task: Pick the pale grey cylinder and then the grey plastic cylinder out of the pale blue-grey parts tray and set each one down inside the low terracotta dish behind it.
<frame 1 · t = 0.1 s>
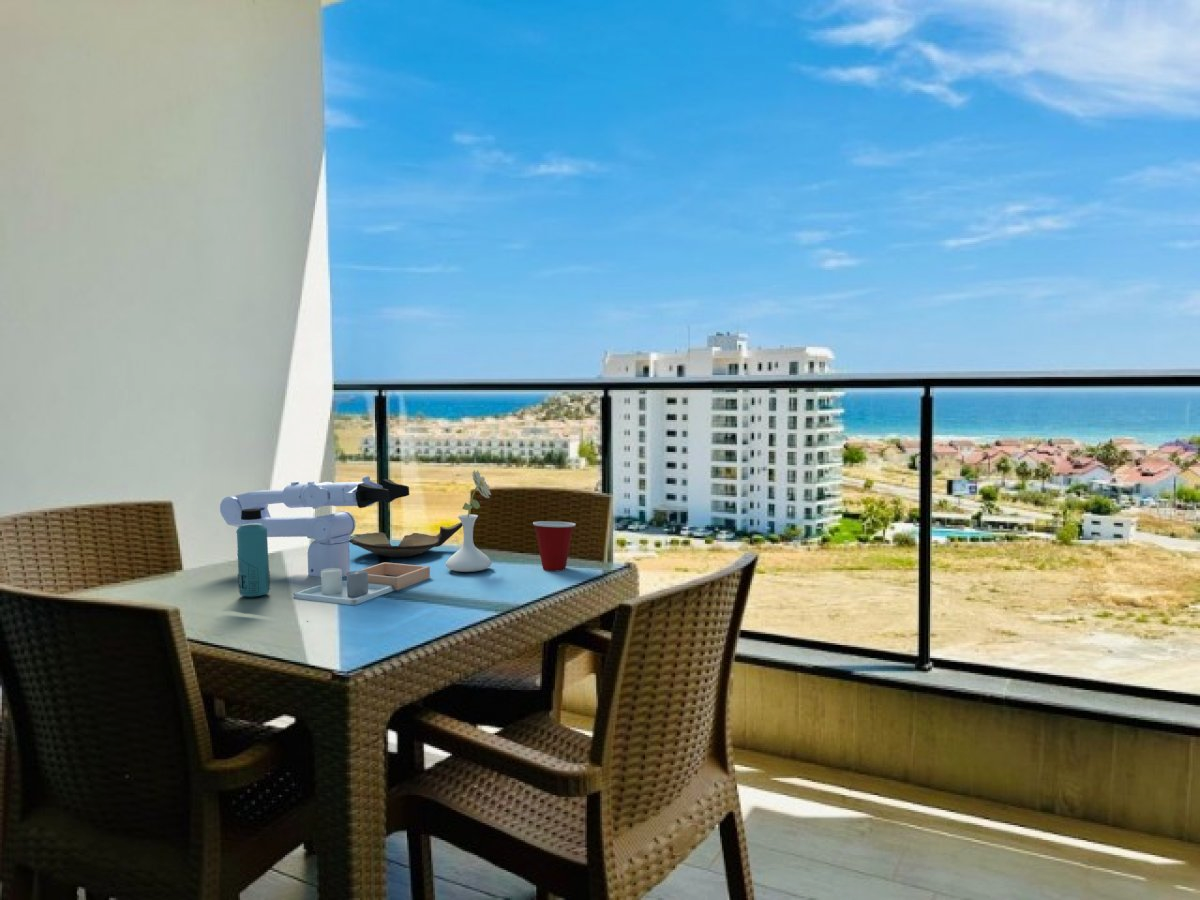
hand: (398, 492, 206), 22 cm above the table, tool horizontal, fingers open, 7 cm apart
grey plastic cylinder: (357, 595, 194), point 1 cm above the table, touching parts tray
terracotta dish: (390, 584, 207), on the table
flower in vase: (470, 570, 223), on the table
pale grey cylinder: (331, 592, 196), point 1 cm above the table, touching parts tray
plastic cup: (554, 569, 224), on the table
beverage bottle: (254, 600, 193), on the table
dark brown curved bowl: (407, 556, 242), on the table
parts tray: (344, 597, 195), on the table
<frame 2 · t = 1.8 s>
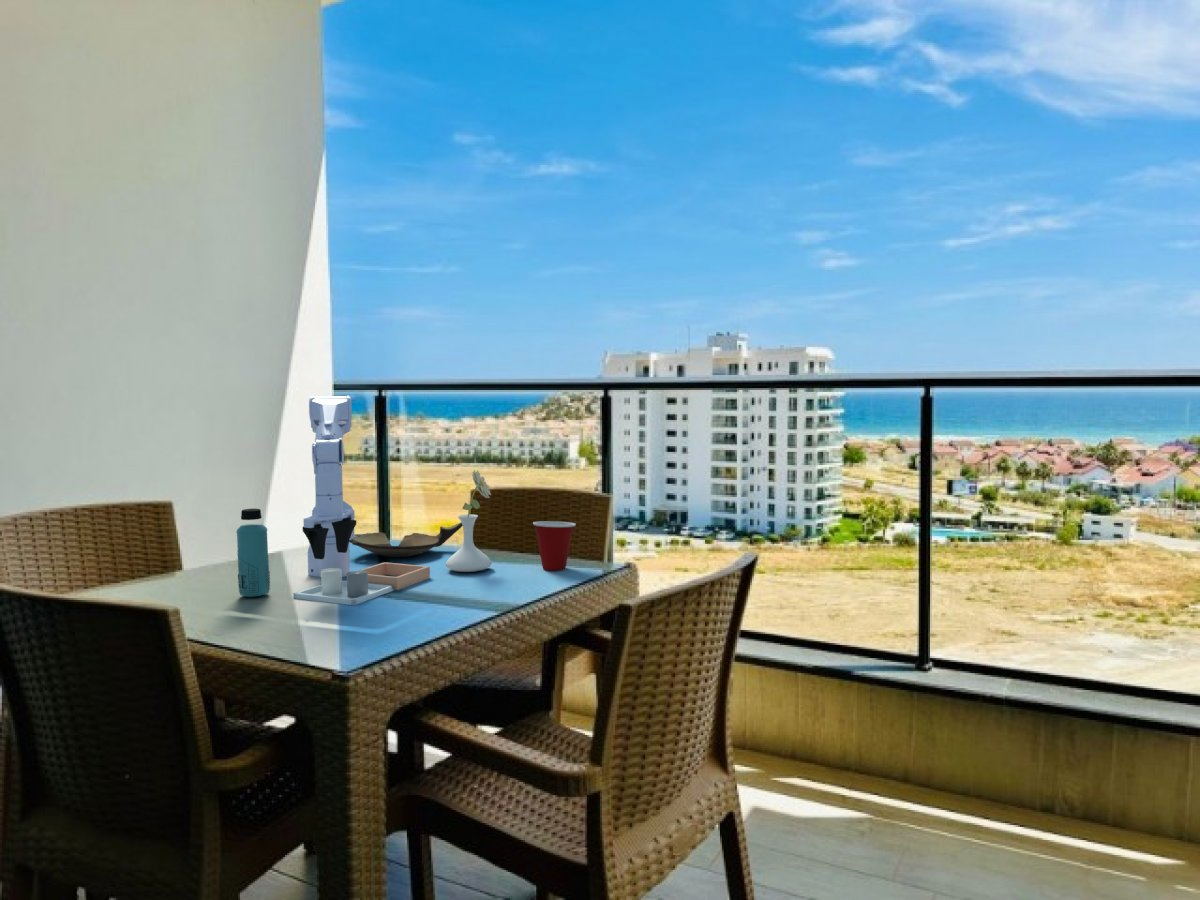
hand: (330, 555, 196), 9 cm above the table, tool pointing down, fingers open, 7 cm apart
nothing on the table moved.
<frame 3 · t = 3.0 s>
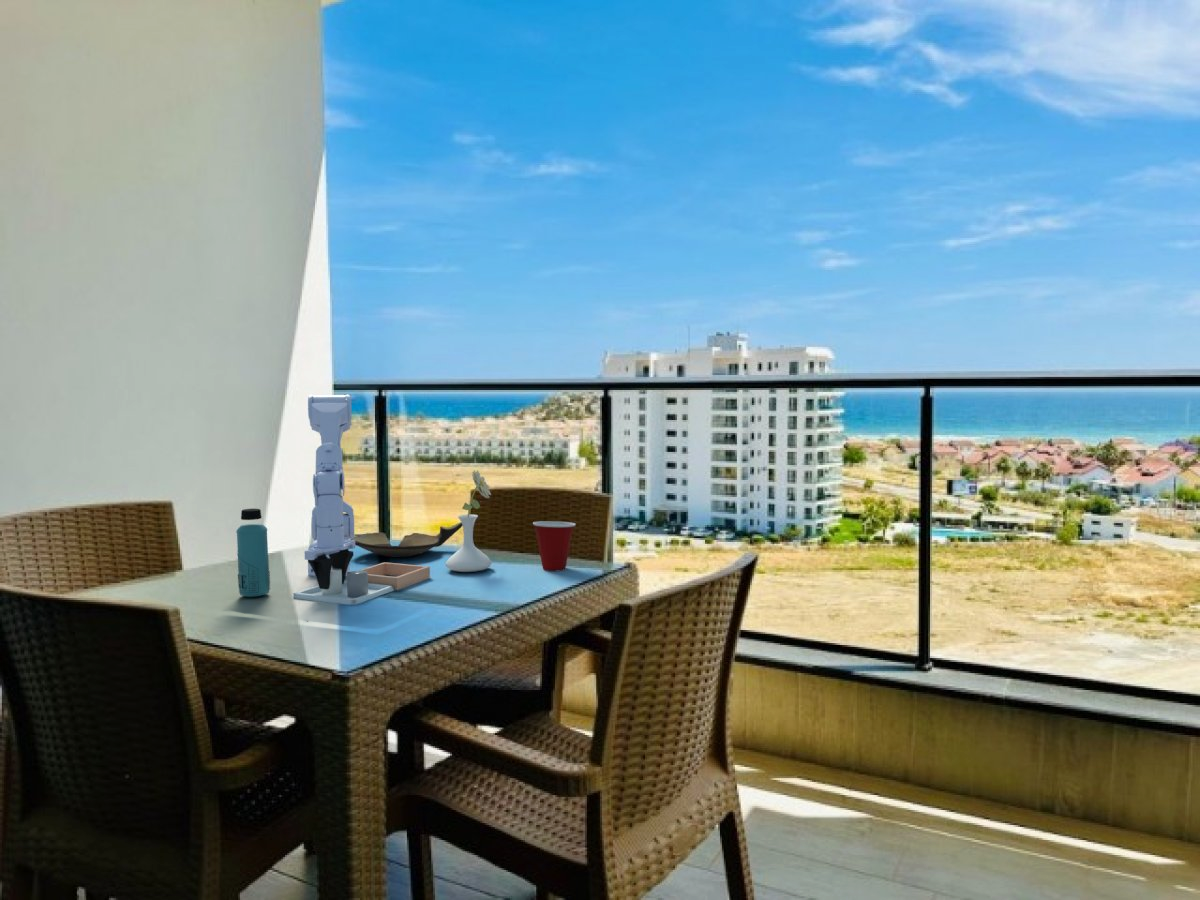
hand: (331, 586, 196), 2 cm above the table, tool pointing down, fingers closed on pale grey cylinder, 4 cm apart
pale grey cylinder: (331, 592, 196), point 1 cm above the table, touching gripper, parts tray
everything else where it was.
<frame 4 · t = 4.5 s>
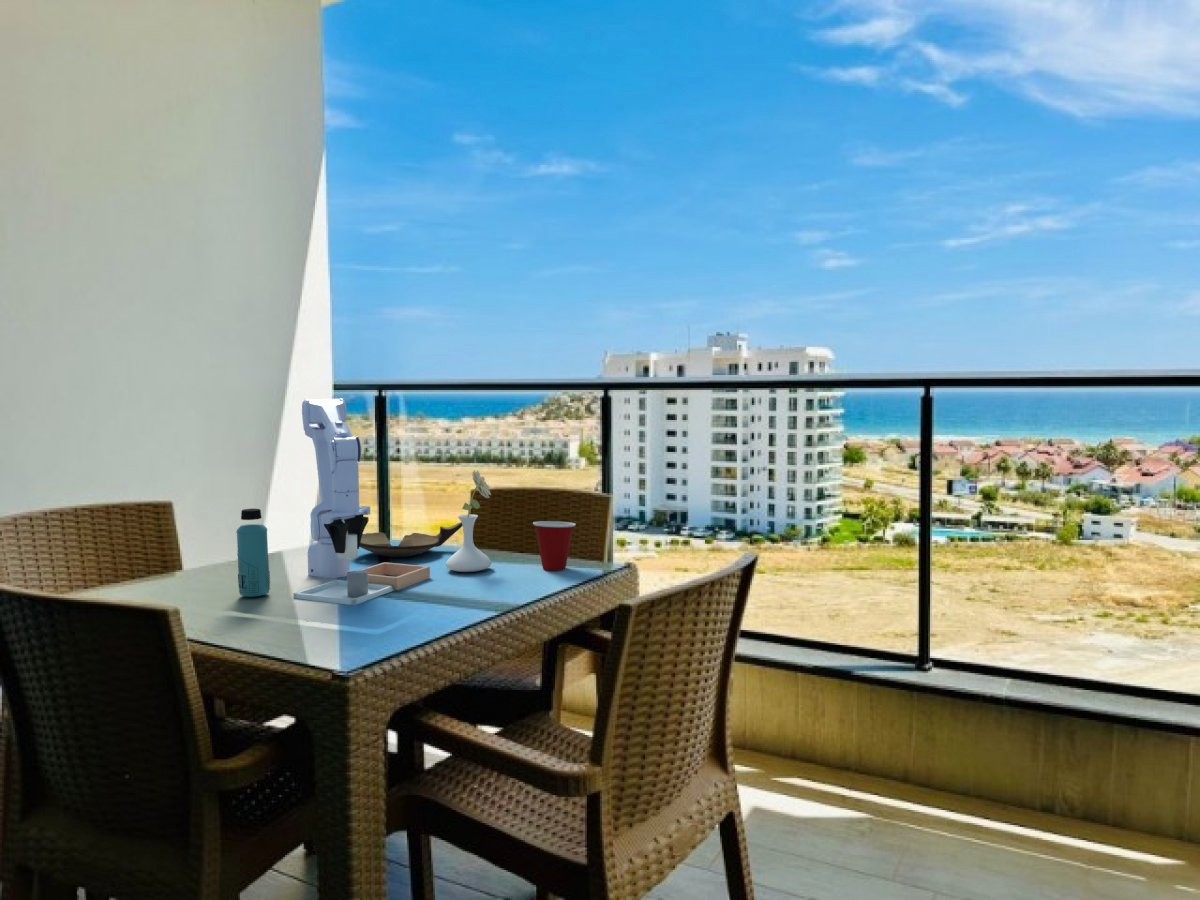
hand: (347, 550, 200), 9 cm above the table, tool pointing down, fingers closed on pale grey cylinder, 4 cm apart
pale grey cylinder: (347, 557, 200), point 8 cm above the table, touching gripper
everything else where it was.
when the fingers open (4 cm above the table, at t = 6.4 s): pale grey cylinder drops 2 cm, resting on terracotta dish.
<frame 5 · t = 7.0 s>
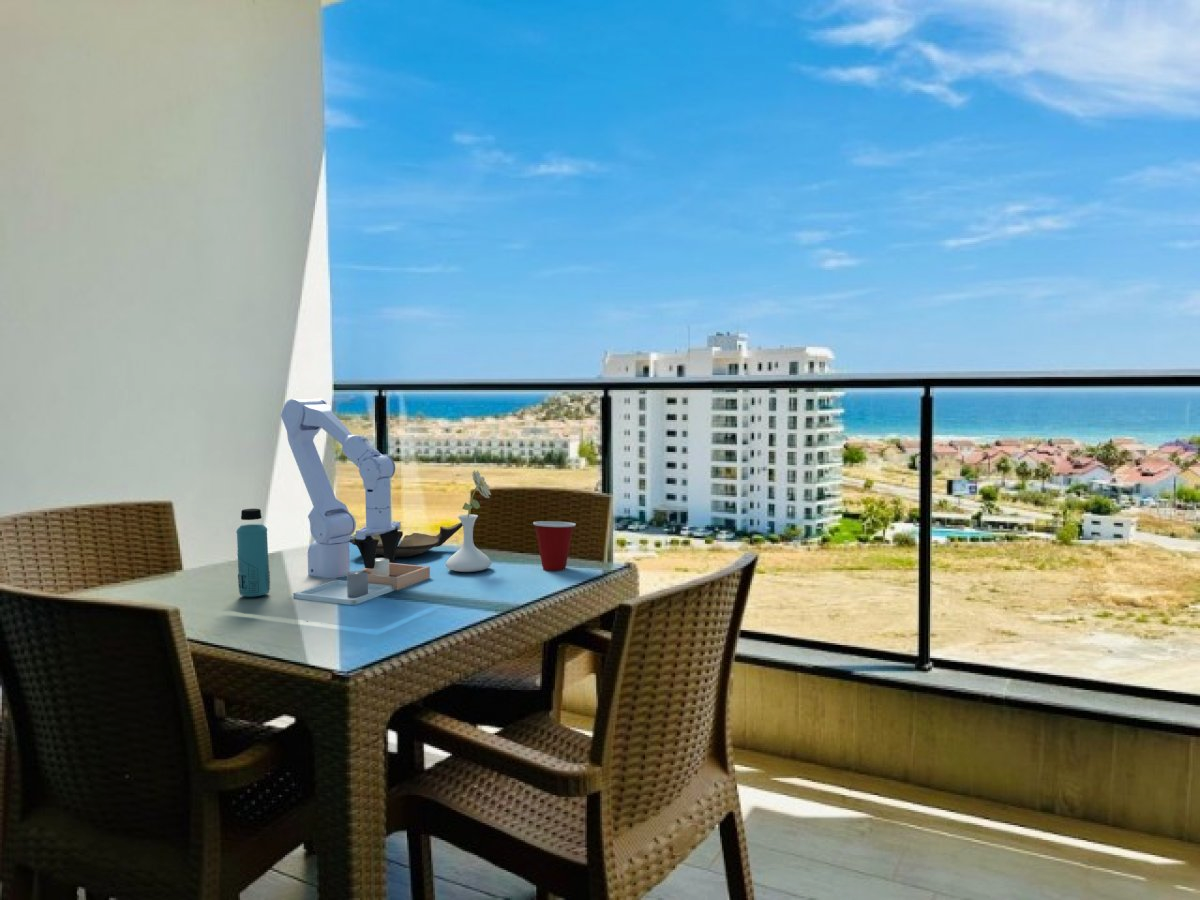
hand: (379, 564, 208), 4 cm above the table, tool pointing down, fingers open, 7 cm apart
pale grey cylinder: (380, 581, 208), point 1 cm above the table, touching terracotta dish
everything else where it was.
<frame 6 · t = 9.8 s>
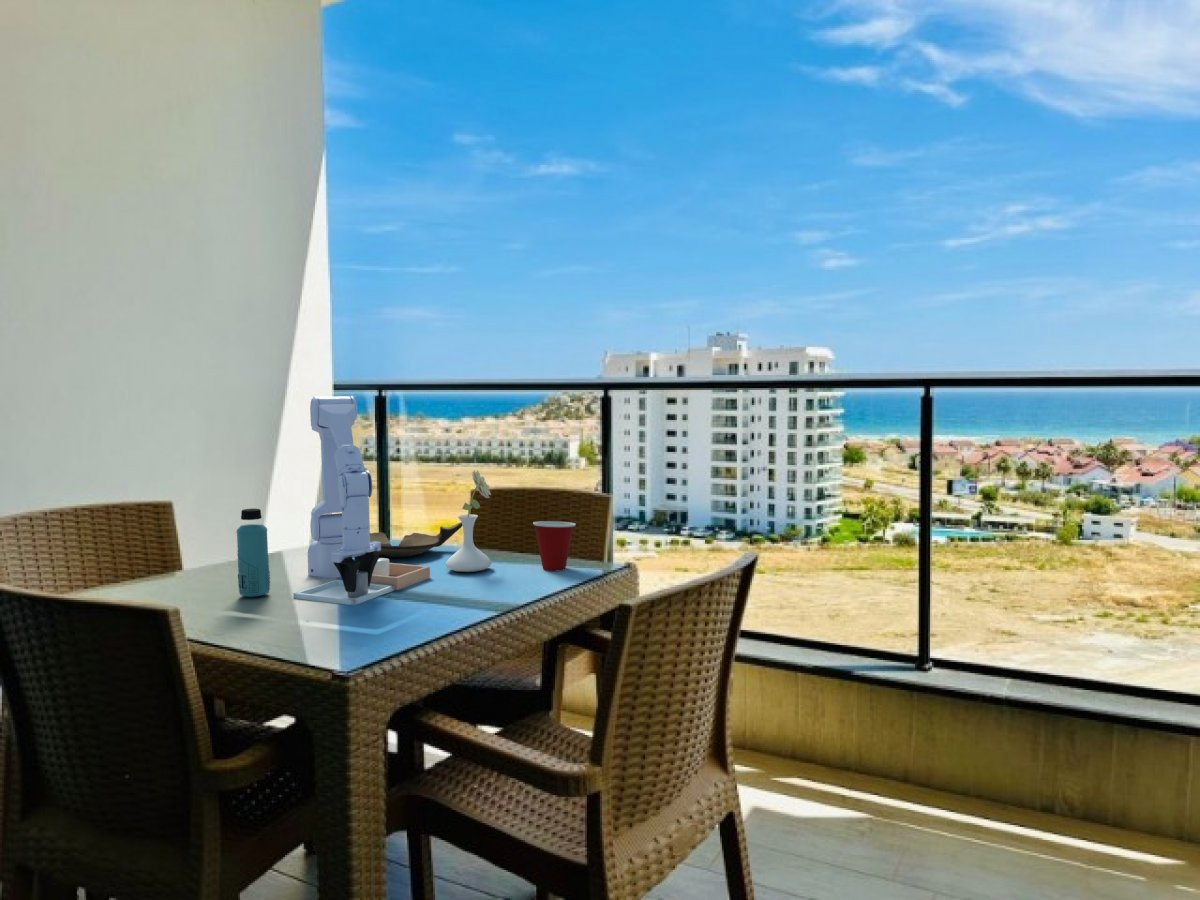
hand: (357, 589, 194), 2 cm above the table, tool pointing down, fingers closed on grey plastic cylinder, 4 cm apart
grey plastic cylinder: (357, 595, 194), point 1 cm above the table, touching gripper, parts tray
everything else where it was.
when the fingers open (4 cm above the table, at t = 13.2 s): grey plastic cylinder drops 2 cm, resting on terracotta dish.
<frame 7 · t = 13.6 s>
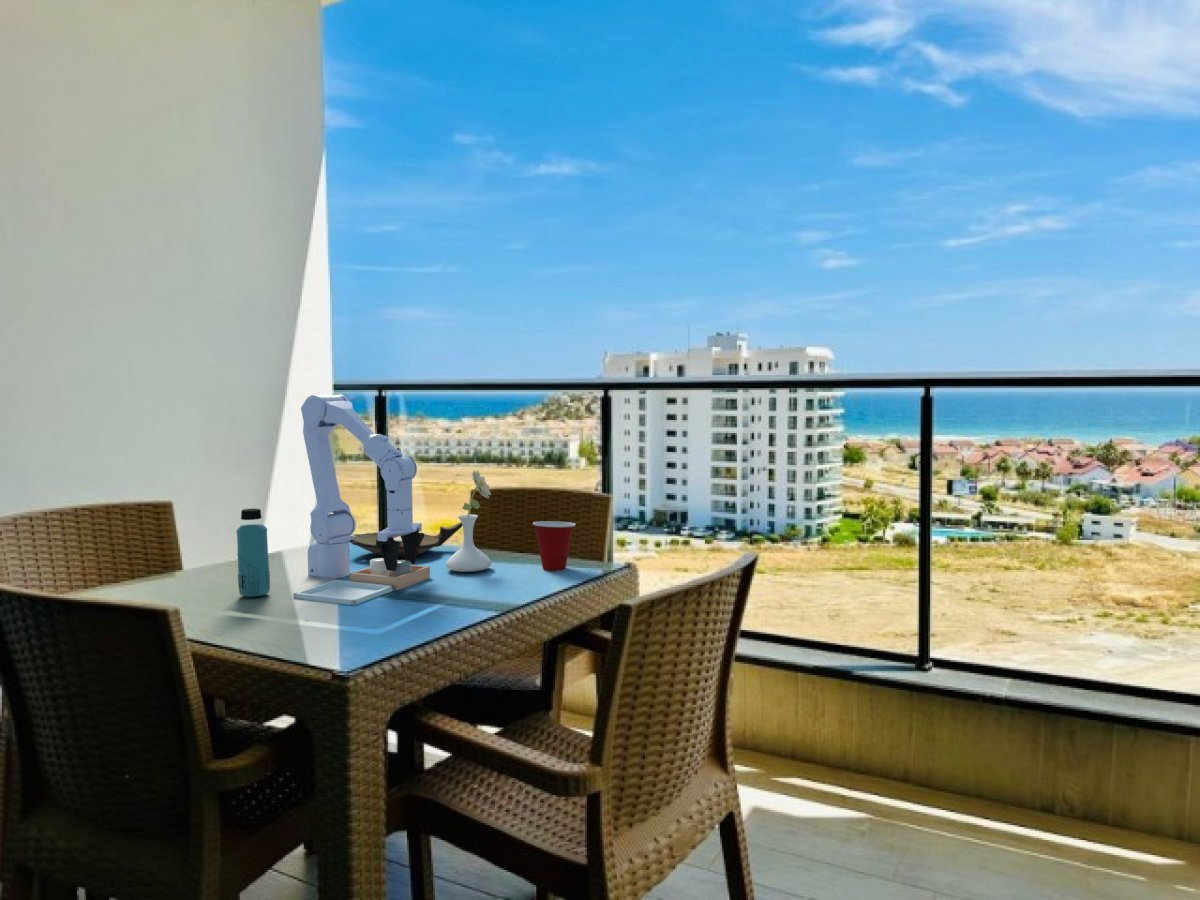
hand: (401, 567, 206), 4 cm above the table, tool pointing down, fingers open, 7 cm apart
grey plastic cylinder: (401, 583, 206), point 1 cm above the table, touching terracotta dish
everything else where it was.
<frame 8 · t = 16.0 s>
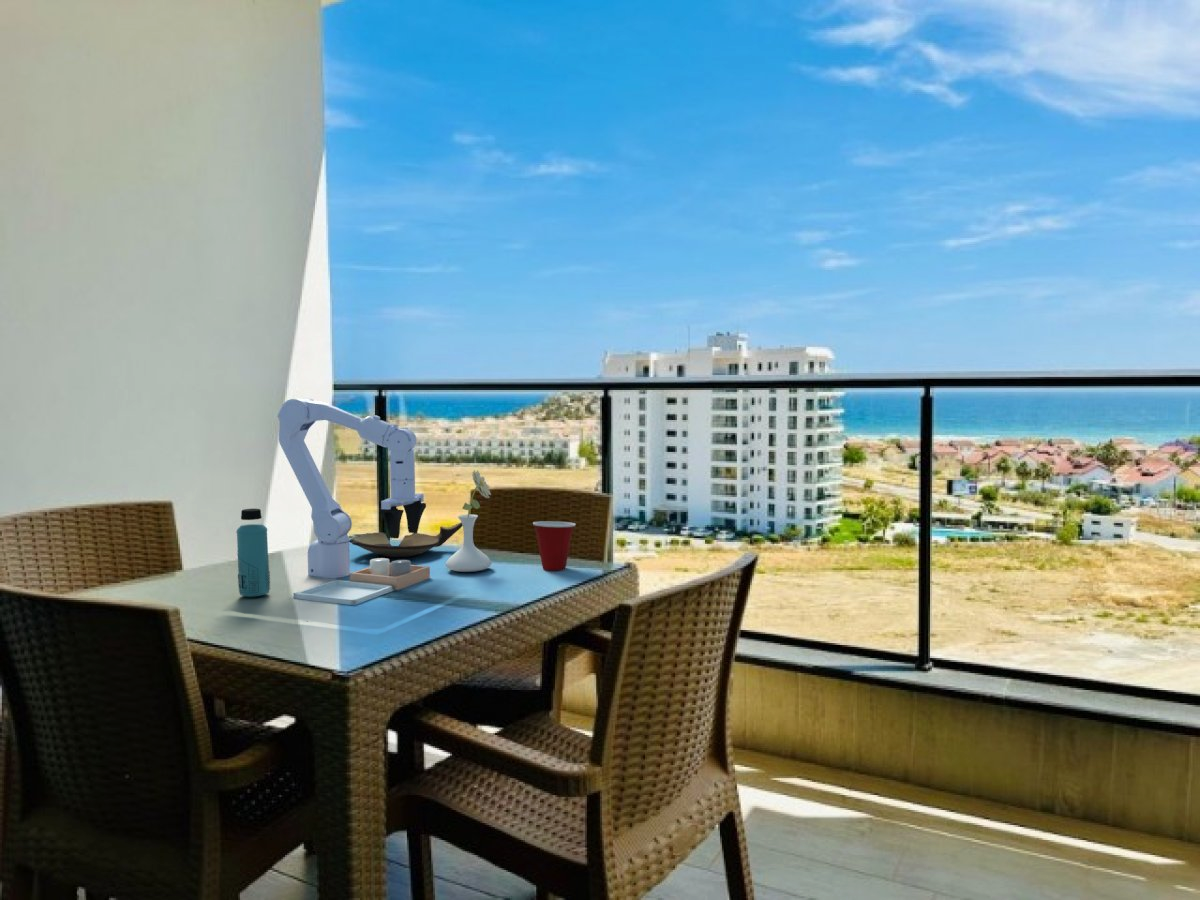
hand: (403, 535, 213), 10 cm above the table, tool pointing down, fingers open, 7 cm apart
nothing on the table moved.
at the end: pale grey cylinder inside the target area on the terracotta dish (3.0 cm from its centre), point 0.6 cm above the terracotta dish's base; grey plastic cylinder inside the target area on the terracotta dish (3.1 cm from its centre), point 0.6 cm above the terracotta dish's base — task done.
